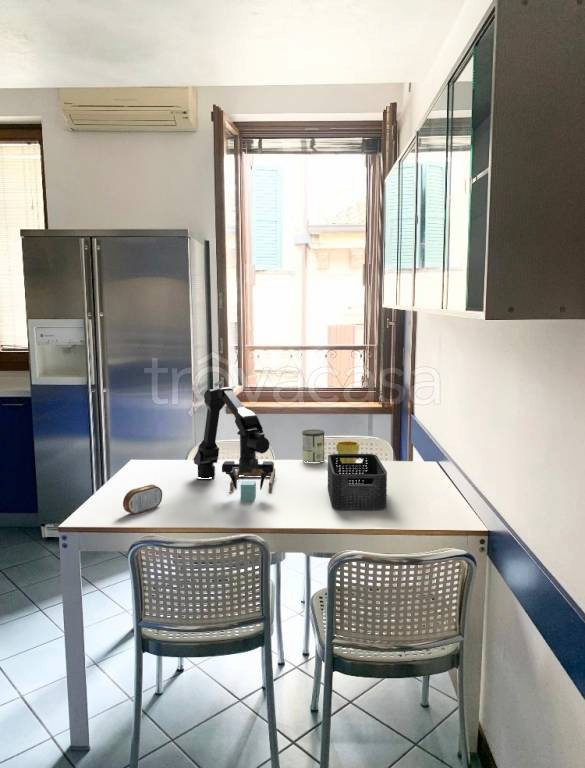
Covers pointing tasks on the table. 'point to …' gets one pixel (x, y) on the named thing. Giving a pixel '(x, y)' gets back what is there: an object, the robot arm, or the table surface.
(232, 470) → the robot arm
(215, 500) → the table surface
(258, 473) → the wooden u-shaped frame
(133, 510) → the tin
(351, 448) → the plant pot
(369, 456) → the storage bin
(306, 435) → the coffee can
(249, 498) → the teal block
